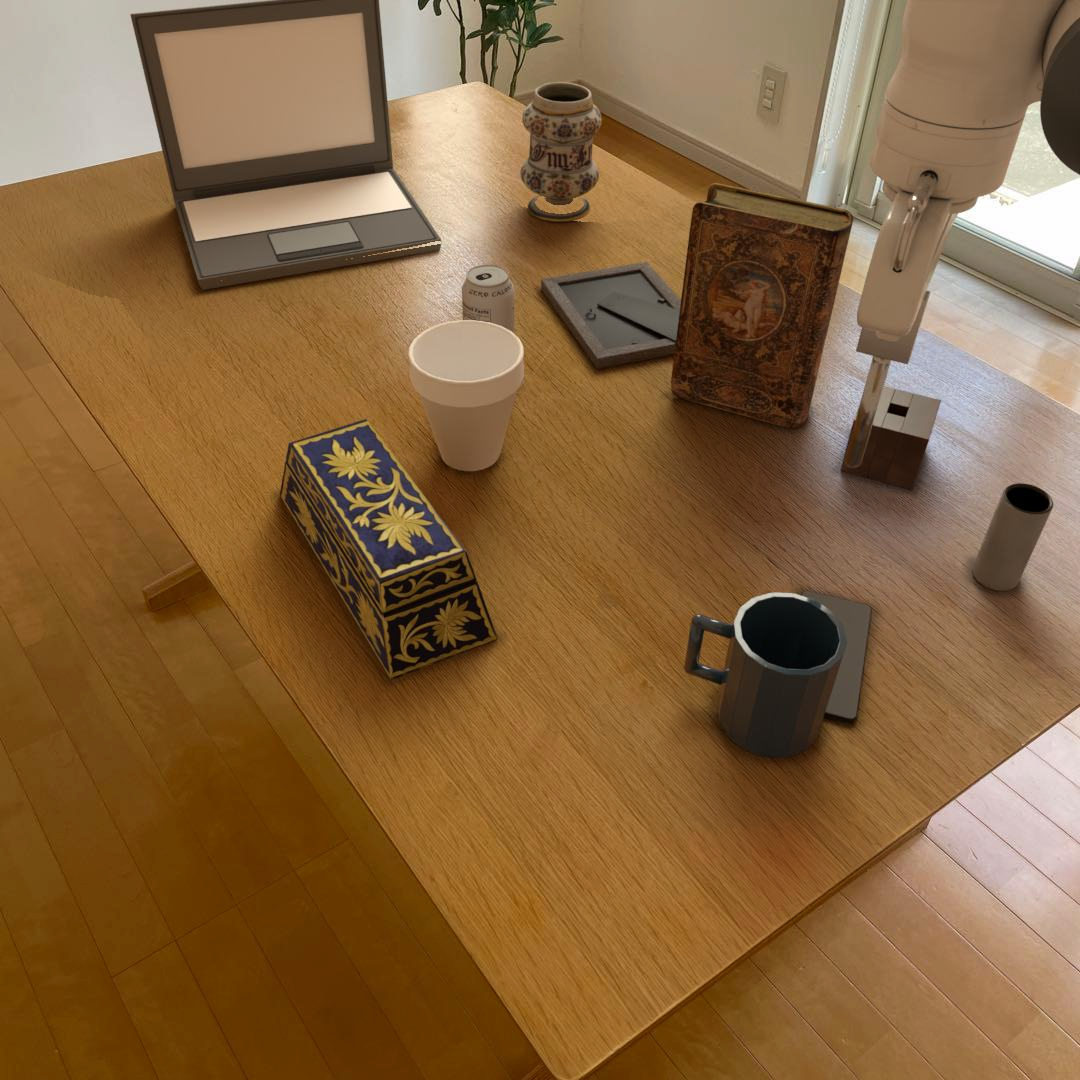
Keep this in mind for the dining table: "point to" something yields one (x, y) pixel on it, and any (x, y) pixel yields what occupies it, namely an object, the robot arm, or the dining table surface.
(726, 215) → the book
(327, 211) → the laptop
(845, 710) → the smartphone
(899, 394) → the utensil block
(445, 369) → the cup
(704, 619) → the grey coffee mug
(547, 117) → the apothecary jar
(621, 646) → the dining table surface
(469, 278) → the energy drink can
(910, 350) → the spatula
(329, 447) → the decorative box
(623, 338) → the picture frame
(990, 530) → the grey hollow cylinder
